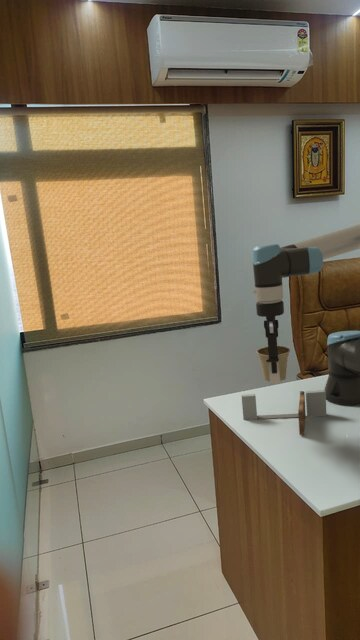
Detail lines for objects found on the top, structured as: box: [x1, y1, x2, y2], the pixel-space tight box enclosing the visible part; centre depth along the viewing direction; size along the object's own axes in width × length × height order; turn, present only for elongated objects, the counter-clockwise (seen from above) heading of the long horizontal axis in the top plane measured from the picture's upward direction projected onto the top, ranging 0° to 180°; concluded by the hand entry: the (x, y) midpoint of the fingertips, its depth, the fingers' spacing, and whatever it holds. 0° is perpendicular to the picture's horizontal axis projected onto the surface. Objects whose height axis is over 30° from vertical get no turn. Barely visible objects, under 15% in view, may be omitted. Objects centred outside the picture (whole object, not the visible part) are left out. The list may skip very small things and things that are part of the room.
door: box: [297, 390, 309, 436], centre depth 125 cm, size 14×2×8 cm, turn 162°
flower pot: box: [255, 345, 291, 383], centre depth 119 cm, size 9×9×9 cm
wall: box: [241, 389, 328, 421], centre depth 132 cm, size 26×2×8 cm, turn 83°
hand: (274, 377), depth 120 cm, fingers closed on flower pot, 8 cm apart
